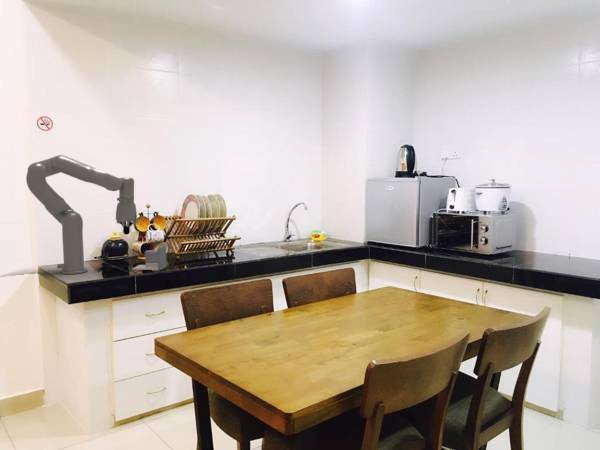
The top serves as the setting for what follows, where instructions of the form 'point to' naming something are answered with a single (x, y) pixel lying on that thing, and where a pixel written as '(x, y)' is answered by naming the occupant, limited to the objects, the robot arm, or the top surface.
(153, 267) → the grey l-shaped piece
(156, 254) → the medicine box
